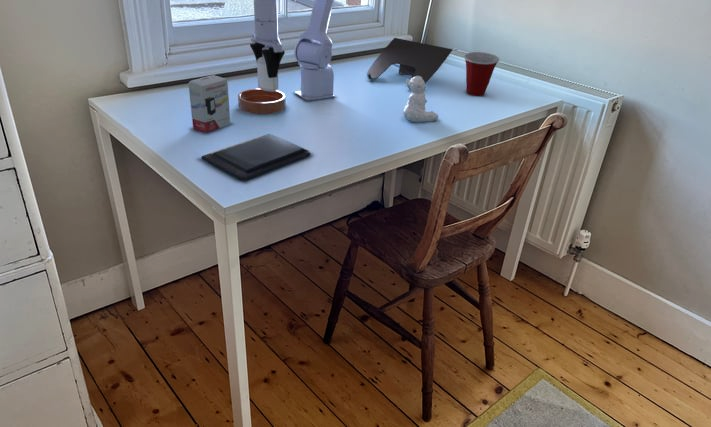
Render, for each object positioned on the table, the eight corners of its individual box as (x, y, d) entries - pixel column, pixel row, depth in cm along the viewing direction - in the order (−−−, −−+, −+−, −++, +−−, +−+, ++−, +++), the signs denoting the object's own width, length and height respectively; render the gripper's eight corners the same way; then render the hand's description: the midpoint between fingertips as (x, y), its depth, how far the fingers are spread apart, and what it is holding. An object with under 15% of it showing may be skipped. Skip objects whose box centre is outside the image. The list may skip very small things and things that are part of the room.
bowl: (273, 98, 150) (273, 86, 148) (293, 111, 141) (293, 99, 139) (231, 103, 143) (231, 91, 142) (249, 118, 134) (248, 105, 133)
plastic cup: (455, 95, 162) (461, 57, 156) (462, 86, 171) (468, 50, 165) (489, 101, 159) (496, 62, 153) (494, 92, 168) (501, 55, 162)
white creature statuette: (439, 120, 141) (445, 77, 135) (419, 127, 136) (425, 83, 130) (412, 111, 147) (417, 69, 141) (393, 117, 141) (397, 74, 135)
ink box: (206, 133, 124) (201, 85, 118) (192, 128, 126) (186, 81, 120) (231, 124, 130) (228, 78, 124) (217, 119, 132) (213, 74, 126)
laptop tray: (364, 93, 177) (358, 72, 170) (397, 54, 187) (393, 32, 180) (422, 109, 166) (419, 87, 159) (454, 66, 176) (452, 43, 169)
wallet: (241, 174, 102) (198, 150, 111) (242, 182, 103) (199, 158, 112) (314, 148, 115) (271, 129, 124) (314, 156, 116) (271, 136, 125)
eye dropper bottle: (264, 93, 133) (262, 45, 127) (256, 87, 137) (254, 41, 131) (280, 91, 135) (279, 44, 129) (271, 85, 139) (270, 40, 133)
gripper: (240, 15, 130) (243, 68, 137) (262, 26, 120) (264, 83, 127) (265, 14, 134) (267, 66, 141) (289, 24, 123) (290, 80, 130)
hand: (267, 74), depth 134 cm, fingers closed on eye dropper bottle, 5 cm apart
